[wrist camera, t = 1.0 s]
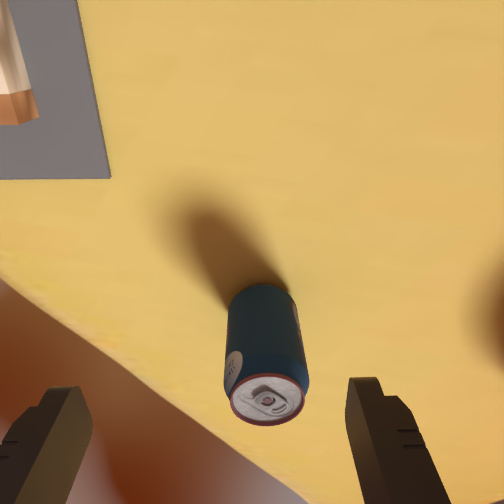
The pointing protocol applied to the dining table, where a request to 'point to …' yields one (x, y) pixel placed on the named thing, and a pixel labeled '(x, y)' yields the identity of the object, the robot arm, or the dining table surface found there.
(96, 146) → the mat
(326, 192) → the dining table surface
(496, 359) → the dining table surface
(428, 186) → the dining table surface
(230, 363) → the soda can
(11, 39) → the tan rectangular block
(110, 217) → the dining table surface
